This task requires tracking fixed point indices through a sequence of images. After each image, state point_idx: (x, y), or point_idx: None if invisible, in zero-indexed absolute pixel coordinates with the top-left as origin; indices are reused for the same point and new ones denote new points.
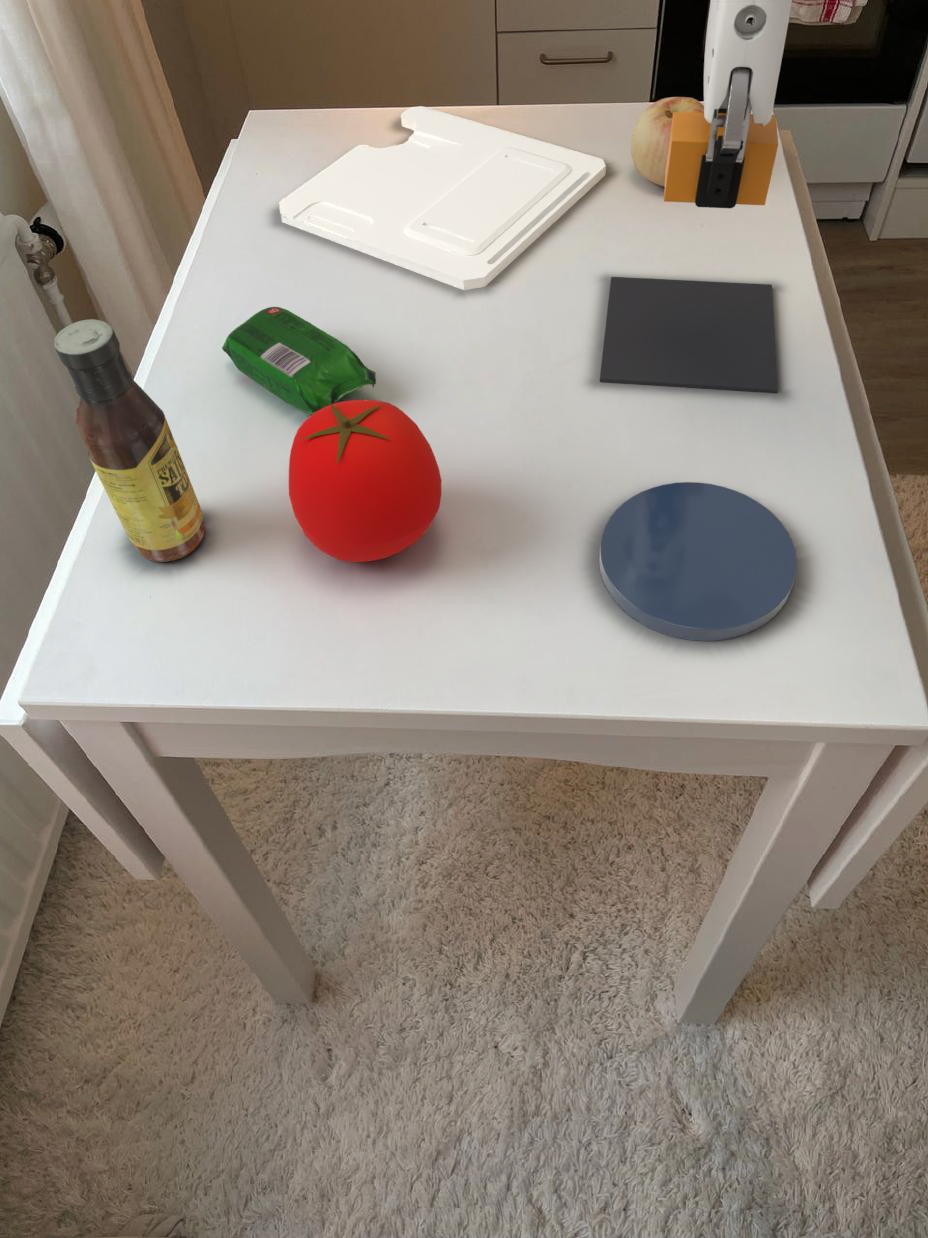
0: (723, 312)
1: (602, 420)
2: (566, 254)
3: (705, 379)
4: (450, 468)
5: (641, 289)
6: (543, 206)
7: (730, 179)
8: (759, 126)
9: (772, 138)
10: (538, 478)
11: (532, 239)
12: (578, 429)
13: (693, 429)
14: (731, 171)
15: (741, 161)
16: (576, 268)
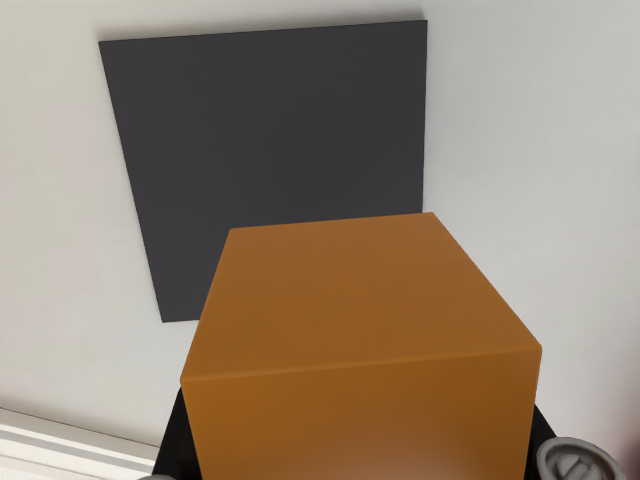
0: (216, 133)
1: (500, 284)
2: (115, 387)
3: (409, 151)
4: (584, 427)
5: (185, 275)
6: (14, 446)
7: (538, 410)
8: (340, 444)
9: (482, 379)
10: (608, 339)
11: (99, 437)
12: (518, 310)
13: (519, 157)
14: (554, 437)
15: (607, 455)
16: (147, 368)
